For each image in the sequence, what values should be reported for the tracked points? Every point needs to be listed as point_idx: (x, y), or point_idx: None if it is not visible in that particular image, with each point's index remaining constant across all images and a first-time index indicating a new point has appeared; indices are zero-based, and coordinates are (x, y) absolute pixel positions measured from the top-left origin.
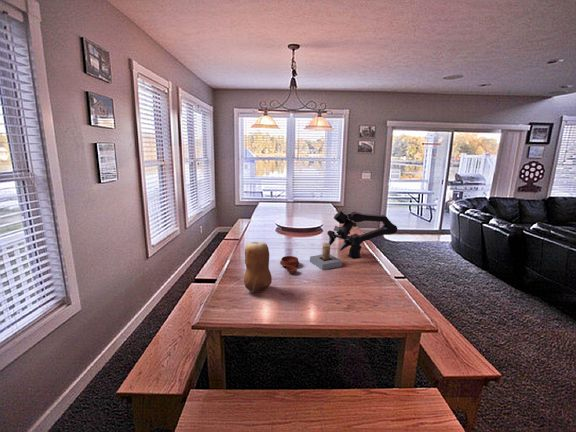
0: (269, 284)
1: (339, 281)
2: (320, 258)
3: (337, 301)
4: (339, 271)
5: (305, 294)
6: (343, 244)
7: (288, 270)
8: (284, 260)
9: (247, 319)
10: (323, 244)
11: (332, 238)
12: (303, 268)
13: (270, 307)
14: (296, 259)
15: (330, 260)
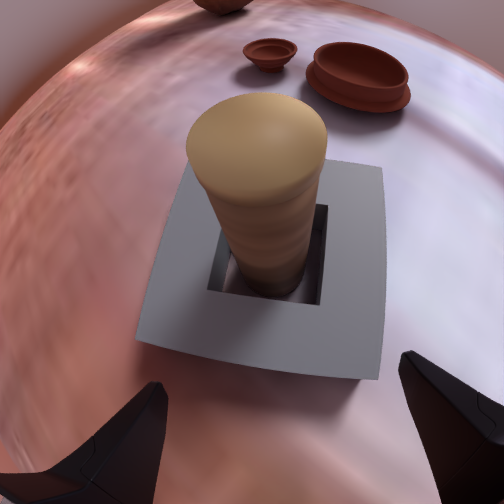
0: (194, 1)
1: (70, 180)
2: (326, 231)
3: (45, 117)
4: (117, 260)
5: (124, 65)
6: (93, 448)
7: (261, 40)
8: (392, 77)
9: (158, 8)
10: (295, 107)
11: (482, 477)
12: None
13: (154, 22)
14: (366, 93)
15: (208, 252)
